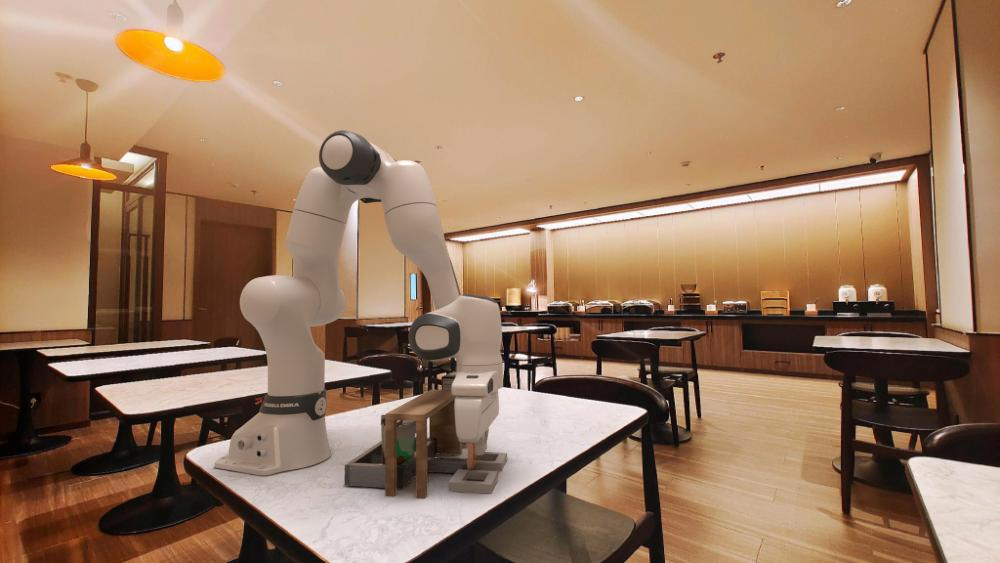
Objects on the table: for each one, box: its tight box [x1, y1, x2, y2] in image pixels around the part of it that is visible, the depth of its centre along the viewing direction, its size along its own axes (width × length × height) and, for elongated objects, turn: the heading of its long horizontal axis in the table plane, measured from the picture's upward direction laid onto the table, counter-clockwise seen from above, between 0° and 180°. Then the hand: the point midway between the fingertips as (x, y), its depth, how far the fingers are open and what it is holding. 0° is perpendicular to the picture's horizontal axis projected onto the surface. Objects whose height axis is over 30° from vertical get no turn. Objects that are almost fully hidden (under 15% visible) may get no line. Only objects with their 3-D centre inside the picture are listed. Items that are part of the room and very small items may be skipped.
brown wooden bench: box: [384, 389, 463, 499], centre depth 80 cm, size 7×22×14 cm, turn 169°
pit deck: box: [447, 451, 508, 495], centre depth 78 cm, size 8×16×2 cm, turn 170°
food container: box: [380, 414, 416, 465], centre depth 80 cm, size 12×6×10 cm, turn 26°
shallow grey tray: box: [344, 436, 480, 490], centre depth 80 cm, size 22×18×6 cm
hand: (481, 452), depth 78 cm, fingers closed, pressing on shallow grey tray
